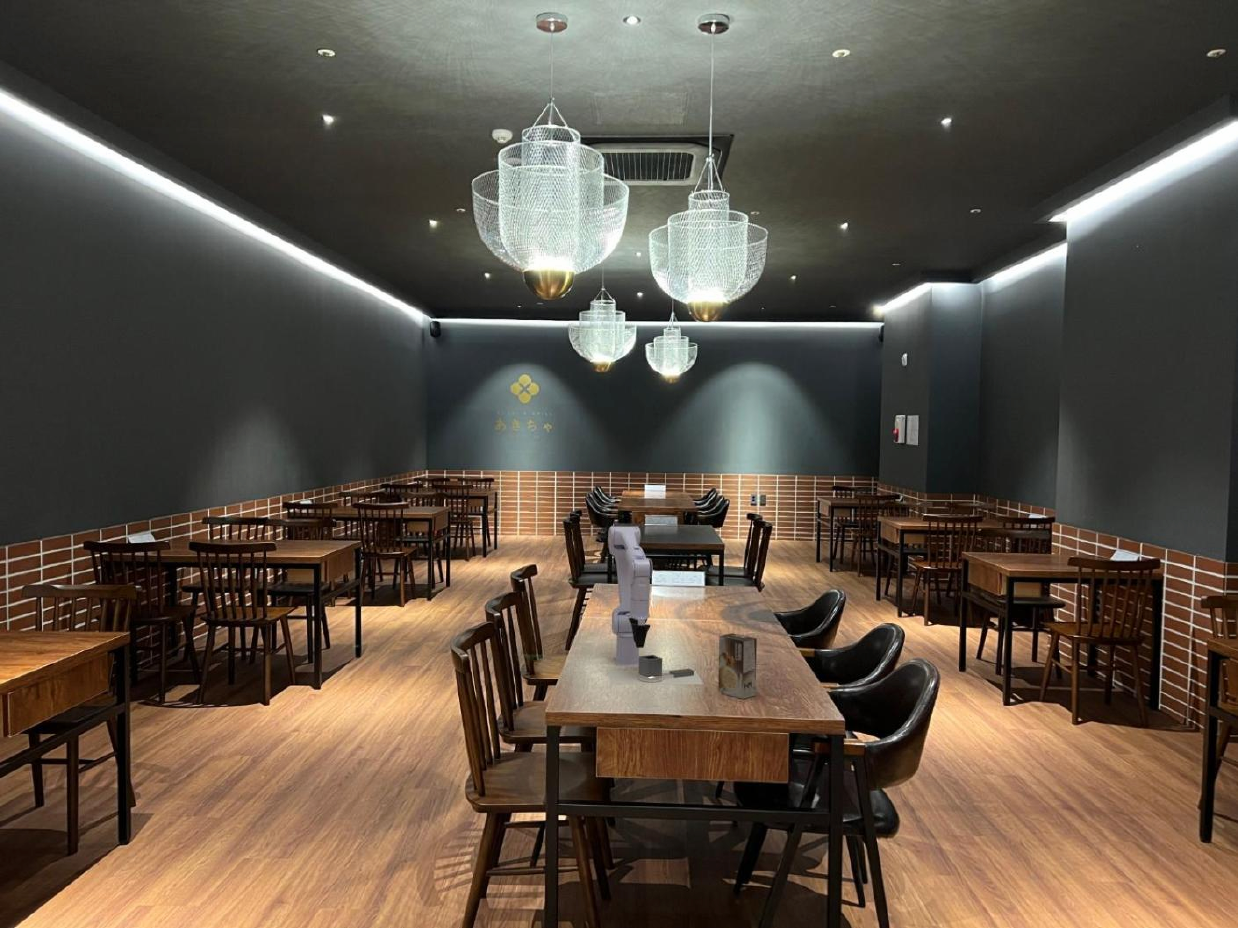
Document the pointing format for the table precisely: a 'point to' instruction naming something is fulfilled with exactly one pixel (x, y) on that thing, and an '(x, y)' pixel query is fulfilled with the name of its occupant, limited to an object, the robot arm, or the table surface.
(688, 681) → the mat
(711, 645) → the table surface
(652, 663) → the socket
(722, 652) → the coffee box
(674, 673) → the ratchet
